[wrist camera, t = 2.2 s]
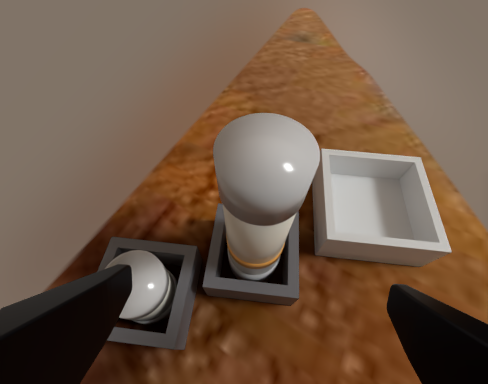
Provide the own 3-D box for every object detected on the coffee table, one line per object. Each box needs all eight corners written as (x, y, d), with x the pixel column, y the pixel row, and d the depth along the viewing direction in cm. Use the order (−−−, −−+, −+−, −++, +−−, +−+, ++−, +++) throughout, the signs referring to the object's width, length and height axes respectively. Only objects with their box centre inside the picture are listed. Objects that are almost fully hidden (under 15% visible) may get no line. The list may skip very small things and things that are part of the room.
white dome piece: (172, 327, 18) (153, 321, 14) (119, 320, 18) (85, 313, 14) (185, 272, 20) (171, 253, 16) (137, 266, 20) (112, 246, 16)
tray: (420, 266, 20) (451, 252, 17) (314, 255, 20) (327, 238, 17) (398, 181, 24) (420, 157, 21) (311, 172, 25) (321, 148, 22)
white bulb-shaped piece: (275, 287, 19) (322, 200, 8) (225, 281, 19) (203, 188, 8) (277, 239, 21) (317, 116, 10) (232, 234, 21) (222, 109, 10)
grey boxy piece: (184, 349, 17) (174, 349, 14) (96, 337, 17) (70, 335, 15) (202, 259, 20) (196, 246, 18) (127, 250, 20) (111, 236, 18)
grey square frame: (291, 305, 18) (298, 298, 16) (207, 295, 19) (202, 286, 16) (292, 228, 22) (298, 211, 19) (221, 220, 22) (218, 203, 19)
